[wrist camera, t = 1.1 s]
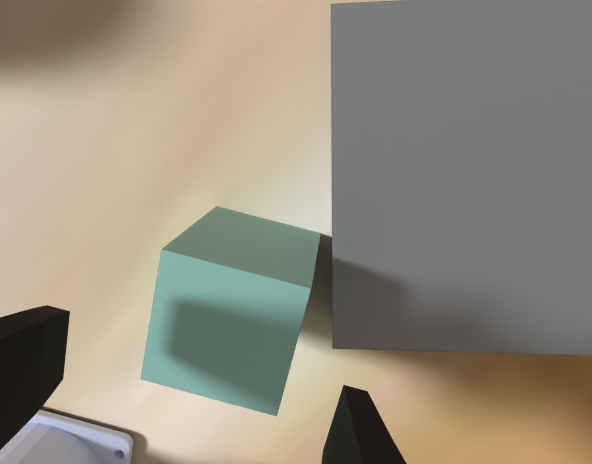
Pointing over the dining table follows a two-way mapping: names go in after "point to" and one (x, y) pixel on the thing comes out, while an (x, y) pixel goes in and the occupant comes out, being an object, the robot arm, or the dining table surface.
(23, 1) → the dining table surface
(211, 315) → the teal block
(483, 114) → the slate base
